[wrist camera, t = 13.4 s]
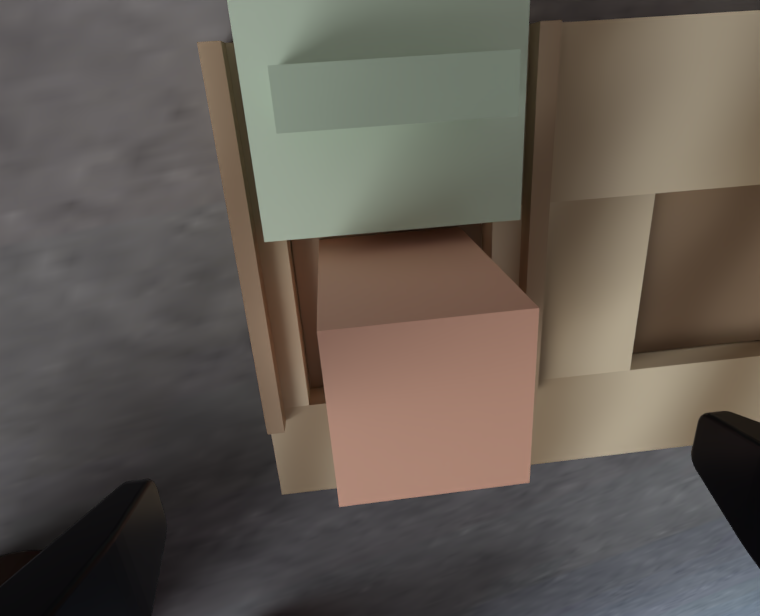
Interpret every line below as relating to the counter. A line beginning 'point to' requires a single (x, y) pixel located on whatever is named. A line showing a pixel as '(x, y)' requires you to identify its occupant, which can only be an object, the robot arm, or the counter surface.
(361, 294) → the block
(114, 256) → the counter surface
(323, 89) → the cover
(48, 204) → the counter surface
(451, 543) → the counter surface
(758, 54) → the board
